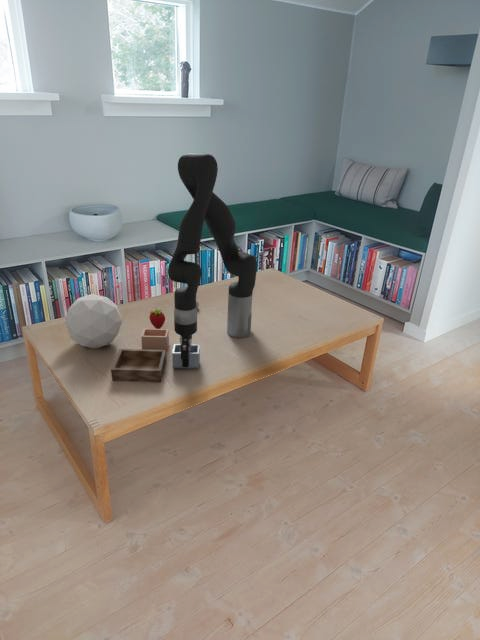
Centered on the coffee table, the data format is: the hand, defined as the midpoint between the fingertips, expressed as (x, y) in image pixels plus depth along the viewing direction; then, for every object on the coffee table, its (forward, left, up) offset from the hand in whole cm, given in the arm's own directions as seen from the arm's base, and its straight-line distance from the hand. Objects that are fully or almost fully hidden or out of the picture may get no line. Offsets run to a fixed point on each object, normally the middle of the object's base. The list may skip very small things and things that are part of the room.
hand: (186, 361), depth 162 cm
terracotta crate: (+12, -12, -2) cm, 17 cm away
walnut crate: (+15, +4, -2) cm, 16 cm away
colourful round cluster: (+4, -45, -2) cm, 45 cm away
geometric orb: (+34, -13, -2) cm, 37 cm away
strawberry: (+13, -25, -2) cm, 28 cm away
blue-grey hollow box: (0, 0, -1) cm, 1 cm away
